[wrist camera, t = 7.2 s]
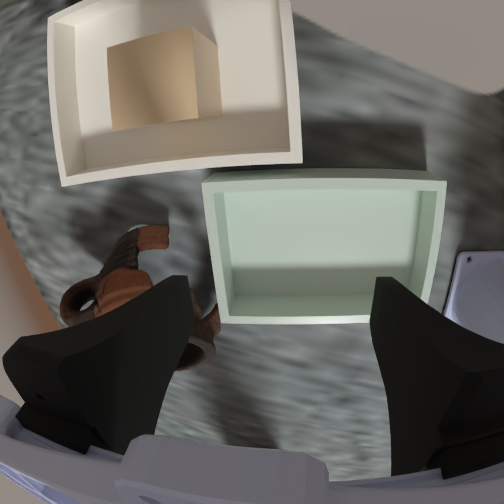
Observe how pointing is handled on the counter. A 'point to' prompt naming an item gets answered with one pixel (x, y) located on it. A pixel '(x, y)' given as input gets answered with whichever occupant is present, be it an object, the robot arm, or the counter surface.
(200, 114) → the sandstone block
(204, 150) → the cream bin
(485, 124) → the counter surface
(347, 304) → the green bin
